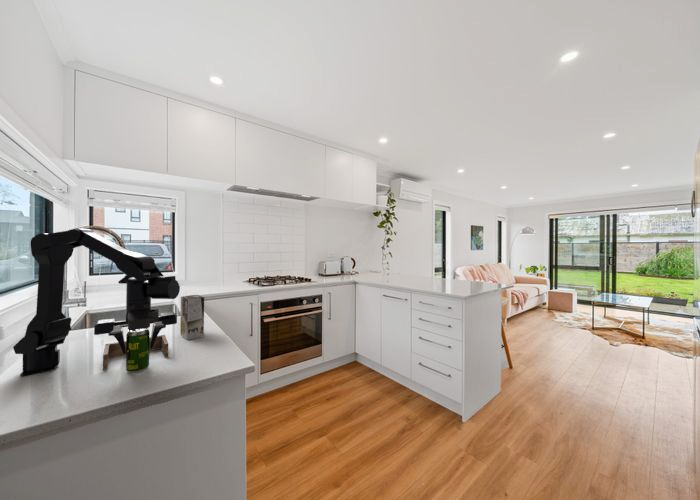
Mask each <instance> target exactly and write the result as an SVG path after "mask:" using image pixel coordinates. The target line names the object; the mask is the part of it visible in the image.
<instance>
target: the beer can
mask: <svg viewBox="0 0 700 500" xmlns="http://www.w3.org/2000/svg"><path fill="white" fill-rule="evenodd" d="M149 328H150V327H149ZM149 328H146V329H143V328H142V329H136V330H132V331H131V330H128V329H127V333H126V334H125V337H126V339H125V341H126V355H125V370H126V372H127V374H139V373H142V372H144V371H146V370H148V368H149V366H150V351H149V337H150V336H151V334H150V330H149Z"/></svg>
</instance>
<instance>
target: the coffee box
mask: <svg viewBox="0 0 700 500" xmlns="http://www.w3.org/2000/svg"><path fill="white" fill-rule="evenodd" d="M204 326H205V297H204V296H202V295H199V294H191V295H185V296H180V336H181V337H183V338H184V339H185V340H187V341H188V340H193V339H194V340H195V339H198V338H203V337H204V335H205V333H204V332H205V330H204V329H205V327H204Z"/></svg>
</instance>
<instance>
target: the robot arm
mask: <svg viewBox="0 0 700 500" xmlns="http://www.w3.org/2000/svg"><path fill="white" fill-rule="evenodd" d="M78 247H84V248H86V249H89V250H90V251H91V252H94V253H95V254H98V255H99V256H102V257H104V258H105V259H108V260H109V261H111V262H112V263H113V264H114V265H115V267H116V268H117V269H118V270H119V271H120V272H122V274H124V276H123V278H121V279H120V280H118V282H117V283H118V284H126V289H125V290H126V297H125V299H126V301H125V302H126V303H125V304H126V305H125V308H126V309H125V320H118V321H115V318H105V319H99V320H97V321H96V322H95V324H94V326H93V327H94V329H93V330H94V331H93V335H95V336H99V335H106V334H108V337H111V336H113V337H114V338H115V339H116V340H117V342H118V343H119V345H120V347H121V349H122V352H123V354H125V341H126V340H125V335H124V328H127V331H128V330H131V331H132V330H136V329H142V328H143V329H146V328H150V327H151V324H152V328H151V334H150V337H151V340H150V349H152V348H153V345H154V343H155V340H156V338H157V336H159V333H160V332H161V331H162V329H166V327H167V326H170V325H175V324H178V316H177V314H176V313H175V311H169V312H161V313H160V315H159V309H158V308H155V309H152V304H151V303H152V301H151V300H154V299H155V300H175V299H176V298H177V297H178V296H179V294H180V291H181V290H180V289H181V286H180V283H179V282H178V280H176V275H169V276H168V275H167V276H165V275H164V274H163V273H162V271H161V270H160V268H159V267H158V266H157V265H156V262H155V261H156V260H155V259H154V258H153V257H151V256H149V255H147V254H143V253H140V252H135V251H131V250H128V249H127V248H124V247H122V246H120V245H118V244H117V243H114V242H113V241H111V240H110V239H107V238H105V237H104V236H101V235H100V234H98V233H96V232H95V231H94V230H92V229H89V228H71V229H69V230H62V231H57V232H51V233H50V232H49V233H45V232H43V233H38V234H36V235H35V236H33V237H32V238H31V239H30V251H31V256H32V257H33V258H34V259H35V261H36V262H37V264H38V279H37V293H36V297H37V298H36V312H35V315H34V317H32V319H31V320H30V322H28V324H27V326H26V329H25V333H24V334H25V335H24V336H23V337H22V338H21V339H20V340H18V342H17V343H15V345H14V346H13V347H12V349H13V351H14V354H15V355H22V372H21V373H20V375H19V376H20V377H23V376H24V377H25V376H30V375H34V374H35V375H36V374H40V373H45V372H50V371H54V370H56V368H57V366H58V365H60V363H61V349H59V348H58V346H59V345H62V344H64V342H65V340H66V338H67V336H68V335H70V334H69V332H70V331H72V328H71V325H72V317H69V316H68V317H67V316H66V315H65V314H64V313H63V311H62V310H63V309H62V308H63V296H64V295H63V293H64V278H65V265H66V263H67V262H68V261H69V259H70V258H71V257H72V256H73V252H74V249H75V248H78Z"/></svg>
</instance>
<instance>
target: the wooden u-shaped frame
mask: <svg viewBox="0 0 700 500" xmlns="http://www.w3.org/2000/svg"><path fill="white" fill-rule="evenodd" d="M150 340H151V336H149V352H150V351H155V350H161V351H162V355H163V357H164V358H168V357H169V342H168V340H167V336H166V335H165V334H161V335H157V338H156V340H155V343H154V345H153V348H152V349H150ZM124 341H125V354H123V352H122V349H121V347H120V345H119V343H118V341H117V342H112V343H106V344H105V345H104V349H103V354H102V370H103V371H104V370H108V368H109V361H110V359H111V358H116V357H121V356H126V340H124Z"/></svg>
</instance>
